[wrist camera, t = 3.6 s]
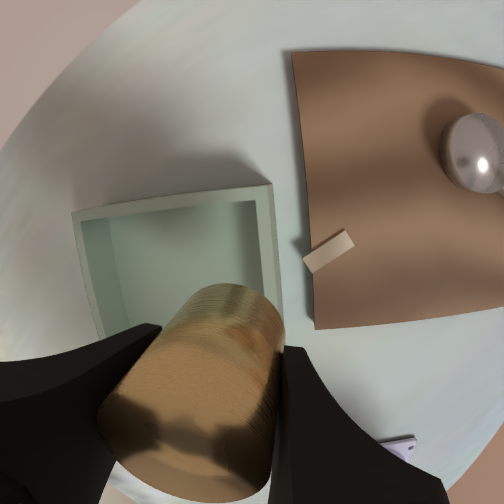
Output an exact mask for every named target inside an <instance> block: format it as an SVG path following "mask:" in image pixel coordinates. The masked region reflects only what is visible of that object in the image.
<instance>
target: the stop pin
mask: <svg viewBox="0 0 504 504" xmlns="http://www.w3.org/2000/svg"><path fill="white" fill-rule="evenodd" d="M284 345H285V328H284V324H283V321H282V318H281V316H280V314H279V312H278V310H277V309H276V308H275V306H274V305H273V304H272V303H271V302H270V301H269V300H268V299H267V298H266V297H265V296H263V295H262V294H260V293H259V292H257V291H255V290H253V289H251V288H249V287H246V286H243V285H239V284H232V283H219V284H213V285H210V286H207V287H204V288H202V289H200V290H199V291H197V292H196V293H194V294H193V295H192V296H191V297H190V298H189V299H188V300H187V301H186V303H185V304H184V305H183V306H182V307H181V308H180V310H179V311H178V312H177V313H176V314H175V316H174V317H173V318H172V319H171V320H170V322H169V323H168V324H167V325H166V326H165V328H164V329H163V330H162V331H161V332H160V333H159V335H158V336H157V337H156V338H155V339H154V341H153V342H152V343H151V344H150V345H149V347H148V348H147V349H146V350H145V351H144V353H143V354H142V355H141V356H140V358H139V359H138V360H137V361H136V362H135V364H134V365H133V366H132V367H131V368H130V370H129V371H128V372H127V373H126V374H125V376H124V377H123V378H122V379H121V381H120V382H119V383H118V384H117V385H116V387H115V388H114V389H113V390H112V392H111V393H110V394H109V395H108V396H107V398H106V399H105V400H104V401H103V403H102V404H101V405H100V408H99V410H98V414H97V426H98V431H99V434H100V436H101V439H102V441H103V443H104V444H105V446H106V448H107V449H108V451H109V452H110V453H111V455H112V456H113V457H114V458H115V459H116V460H117V461H118V462H119V463H120V464H121V465H122V466H123V467H124V468H125V469H126V470H127V471H129V472H130V473H131V474H132V475H134V476H135V477H137V478H138V479H140V480H141V481H143V482H144V483H146V484H148V485H150V486H152V487H153V488H155V489H158V490H160V491H162V492H164V493H167V494H170V495H173V496H176V497H179V498H182V499H187V500H191V501H197V502H205V503H226V502H233V501H238V500H242V499H245V498H248V497H250V496H252V495H254V494H255V493H257V492H259V491H260V490H261V489H262V488H263V487H264V486H265V485H266V483H267V482H268V480H269V477H270V474H271V467H272V459H273V451H274V442H275V434H276V425H277V416H278V407H279V397H280V387H281V367H282V357H283V349H284Z"/></svg>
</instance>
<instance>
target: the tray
mask: <svg viewBox="0 0 504 504" xmlns="http://www.w3.org/2000/svg"><path fill="white" fill-rule="evenodd" d="M71 213H72V220H73V226H74V232H75V238H76V244H77V249H78V254H79V259H80V264H81V269H82V274H83V278H84V283H85V287H86V291H87V295H88V299H89V303H90V307H91V311H92V314H93V318H94V322H95V325H96V329H97V332H98V335H99V339H100V340H103V339H105V338H107V337H110V336H112V335H115V334H117V333H120V332H122V331H125V330H127V329H130V328H132V327H135V326H137V325H140V324H143V323H150V324H155V325H160V326H162V330H163V329H164V328H165V326H166V325H167V324H168V323H169V322H170V320H171V319H172V318H173V317H174V316H175V314H176V313H177V312H178V311H179V310H180V308H181V307H182V306H183V305H184V304H185V303H186V301H187V300H188V299H189V298H190V297H191V296H192V295H193V294H194V293H196V292H197V291H199V290H200V289H202V288H204V287H207V286H210V285H213V284H219V283H232V284H239V285H243V286H246V287H249V288H251V289H253V290H255V291H257V292H259V293H260V294H262V295H263V296H265V297H266V298H267V299H268V300H269V301H270V302H271V303H272V304H273V305H274V306H275V308H276V309H277V310H278V312H279V314H280V316H281V318H282V321H283V324H284V318H283V304H282V290H281V277H280V264H279V252H278V240H277V228H276V217H275V206H274V195H273V184H266V185H255V186H245V187H235V188H225V189H216V190H208V191H199V192H191V193H183V194H176V195H168V196H161V197H154V198H147V199H141V200H134V201H128V202H121V203H115V204H109V205H103V206H99V207H94V208H89V209H85V210H80V211H76V212H71Z"/></svg>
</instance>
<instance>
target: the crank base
mask: <svg viewBox="0 0 504 504" xmlns="http://www.w3.org/2000/svg"><path fill="white" fill-rule="evenodd" d="M292 64H293V71H294V78H295V85H296V93H297V101H298V109H299V117H300V126H301V134H302V144H303V154H304V164H305V174H306V186H307V198H308V210H309V224H310V240H311V252H310V253H309V254H307V255H306V256H304V257H303V258H302V259H303V261H304V262H305V264H306V265H307V266H308V268H309V269H310V271H311V272H312V276H313V301H314V326H315V330H321V329H335V328H348V327H360V326H371V325H381V324H390V323H399V322H407V321H416V320H423V319H431V318H438V317H445V316H451V315H458V314H464V313H470V312H476V311H482V310H487V309H493V308H498V307H503V306H504V197H503V196H502V195H501V194H499V193H498V192H494V193H480V192H473V191H467V190H464V189H462V188H460V187H458V186H457V185H455V184H454V183H453V182H452V181H451V180H450V178H449V177H448V176H447V174H446V172H445V170H444V168H443V165H442V163H441V158H440V151H439V145H440V138H441V135H442V132H443V130H444V128H445V127H446V125H447V124H448V123H449V122H450V121H452V120H454V119H456V118H459V117H462V116H465V115H468V114H472V113H484V114H487V115H489V116H491V117H493V118H494V119H495V120H497V121H498V122H499V123H500V125H501V126H502V127H503V128H504V70H503V69H499V68H494V67H490V66H486V65H481V64H476V63H471V62H466V61H461V60H455V59H449V58H442V57H435V56H427V55H418V54H408V53H396V52H379V51H314V52H297V53H292Z"/></svg>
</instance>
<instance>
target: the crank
mask: <svg viewBox="0 0 504 504" xmlns="http://www.w3.org/2000/svg"><path fill="white" fill-rule="evenodd" d="M439 151H440V158H441V163H442V165H443V168H444V170H445V172H446V174H447V176H448V177H449V178H450V180H451V181H452V182H453V183H454V184H455V185H457V186H458V187H460V188H462V189H464V190H467V191H473V192H480V193H494V192H498V193H499V194H501V195H502V196H503V197H504V128H503V127H502V126H501V125H500V123H499V122H498V121H497V120H495V119H494V118H493V117H491V116H489V115H487V114H484V113H472V114H468V115H465V116H462V117H459V118H456V119H454V120H452V121H450V122H449V123H448V124H447V125H446V127H445V128H444V130H443V132H442V135H441V138H440V145H439Z"/></svg>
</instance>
